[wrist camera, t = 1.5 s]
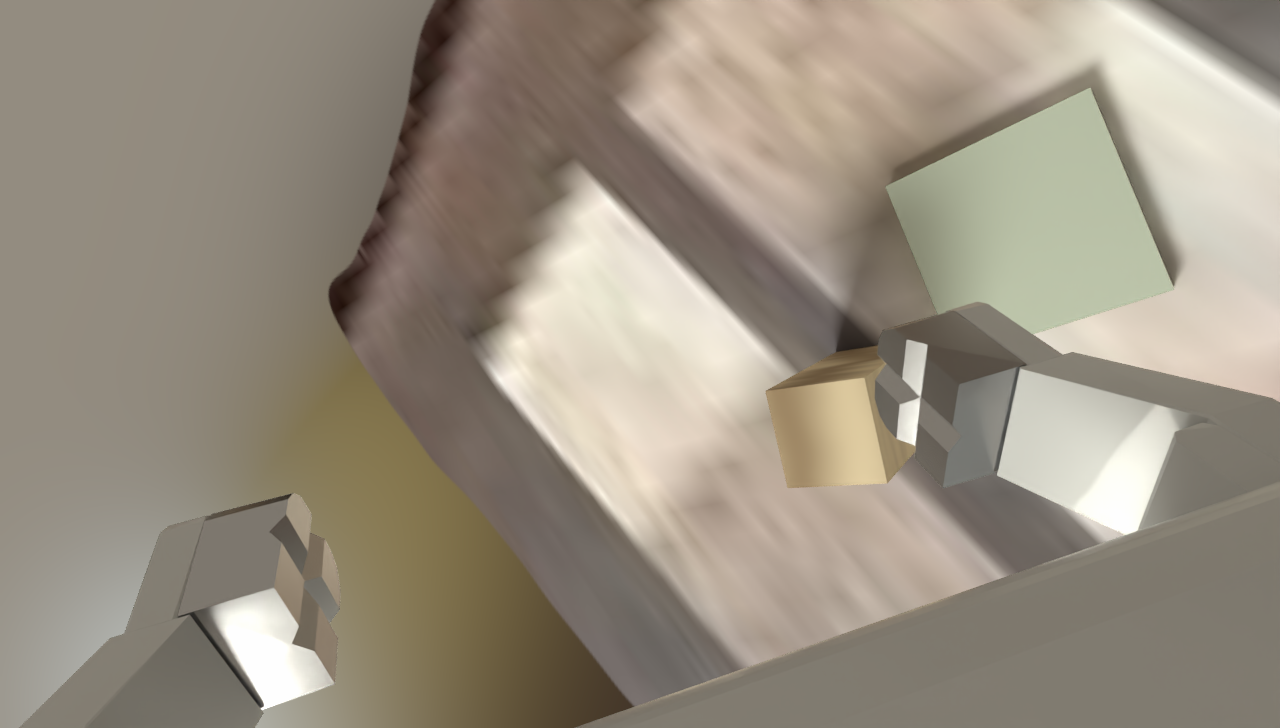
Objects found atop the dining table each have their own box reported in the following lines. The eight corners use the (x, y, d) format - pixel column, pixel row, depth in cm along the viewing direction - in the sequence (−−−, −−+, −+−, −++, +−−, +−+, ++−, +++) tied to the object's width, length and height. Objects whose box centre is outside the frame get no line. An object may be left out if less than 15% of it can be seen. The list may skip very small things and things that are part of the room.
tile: (1091, 89, 35) (1090, 87, 34) (1173, 286, 34) (1174, 289, 34) (890, 186, 40) (885, 186, 40) (959, 354, 40) (955, 358, 39)
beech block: (920, 338, 41) (864, 377, 33) (938, 424, 42) (887, 483, 34) (836, 352, 44) (765, 391, 36) (853, 432, 45) (787, 488, 37)
